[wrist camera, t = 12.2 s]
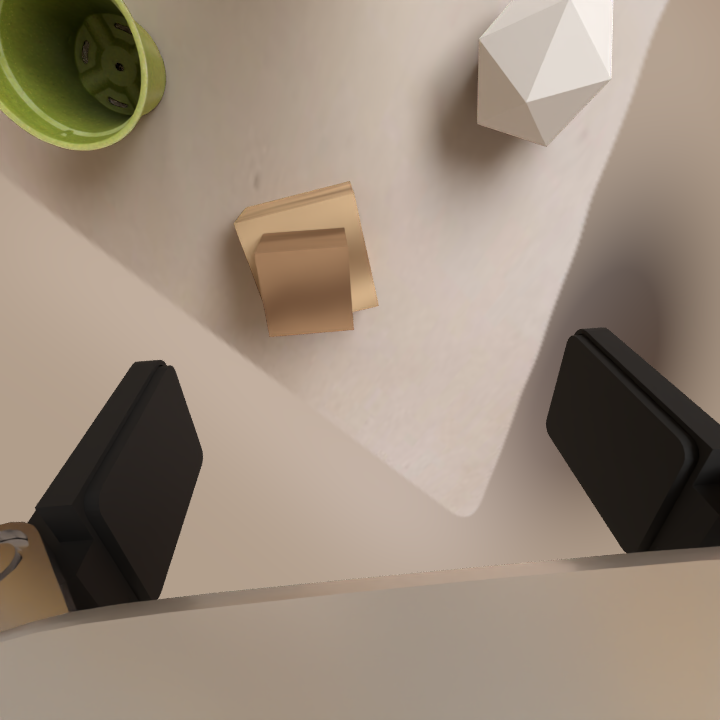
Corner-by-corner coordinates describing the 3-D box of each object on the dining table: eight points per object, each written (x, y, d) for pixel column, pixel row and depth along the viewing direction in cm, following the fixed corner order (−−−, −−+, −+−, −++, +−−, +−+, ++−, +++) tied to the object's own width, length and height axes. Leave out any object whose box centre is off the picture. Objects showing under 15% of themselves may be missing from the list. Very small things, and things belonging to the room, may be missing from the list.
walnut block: (263, 233, 31) (253, 253, 27) (344, 227, 31) (347, 246, 27) (275, 308, 34) (269, 336, 30) (349, 302, 35) (353, 329, 30)
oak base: (246, 207, 36) (233, 223, 31) (349, 180, 35) (353, 193, 30) (279, 302, 40) (273, 330, 35) (371, 280, 40) (378, 305, 35)
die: (457, 147, 35) (567, 183, 30) (427, 39, 28) (566, 60, 22) (522, 71, 35) (644, 92, 30) (510, -57, 28) (669, -61, 22)
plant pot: (48, 112, 31) (-38, 114, 24) (47, -49, 27) (-57, -108, 19) (179, 159, 33) (138, 174, 26) (198, 17, 29) (156, -14, 22)
